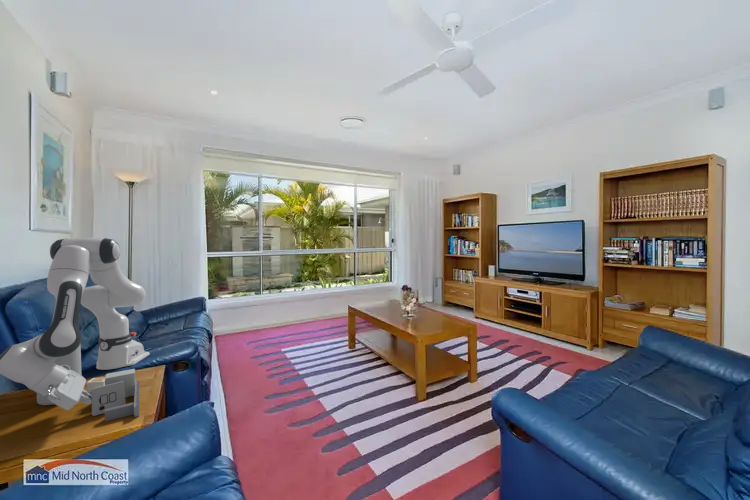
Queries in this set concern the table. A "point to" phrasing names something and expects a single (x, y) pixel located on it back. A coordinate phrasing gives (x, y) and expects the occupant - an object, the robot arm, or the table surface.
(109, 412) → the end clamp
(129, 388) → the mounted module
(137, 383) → the rail
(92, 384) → the block
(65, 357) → the cylinder vase
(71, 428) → the table surface
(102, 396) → the electrical switch
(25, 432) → the table surface
